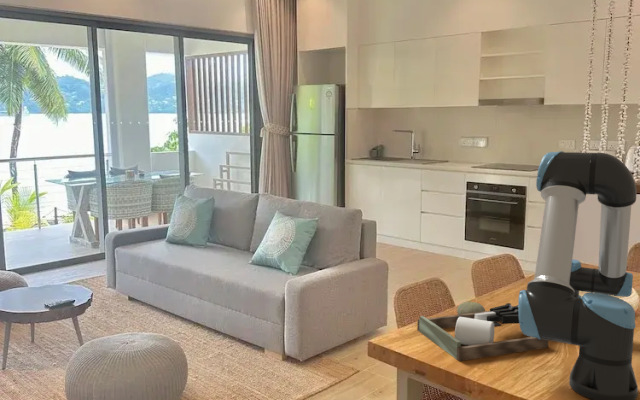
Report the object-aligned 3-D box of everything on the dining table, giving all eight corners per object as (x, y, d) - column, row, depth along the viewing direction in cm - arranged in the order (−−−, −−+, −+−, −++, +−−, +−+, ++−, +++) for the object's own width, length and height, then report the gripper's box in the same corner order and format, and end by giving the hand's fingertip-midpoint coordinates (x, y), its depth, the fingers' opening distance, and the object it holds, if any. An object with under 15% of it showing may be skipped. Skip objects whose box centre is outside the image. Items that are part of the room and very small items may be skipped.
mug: (488, 353, 161) (489, 326, 160) (454, 347, 166) (455, 321, 164) (496, 339, 172) (497, 314, 170) (463, 333, 176) (464, 309, 175)
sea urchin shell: (460, 304, 198) (476, 291, 194) (475, 322, 196) (491, 310, 192) (450, 311, 191) (467, 298, 187) (466, 330, 188) (483, 317, 184)
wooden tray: (497, 319, 188) (498, 305, 187) (548, 347, 165) (549, 331, 164) (417, 330, 179) (417, 315, 178) (458, 361, 156) (459, 343, 155)
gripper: (553, 329, 172) (488, 338, 165) (526, 315, 184) (463, 323, 177) (555, 305, 171) (489, 313, 164) (527, 293, 183) (464, 300, 176)
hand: (475, 318), depth 170 cm, fingers closed
